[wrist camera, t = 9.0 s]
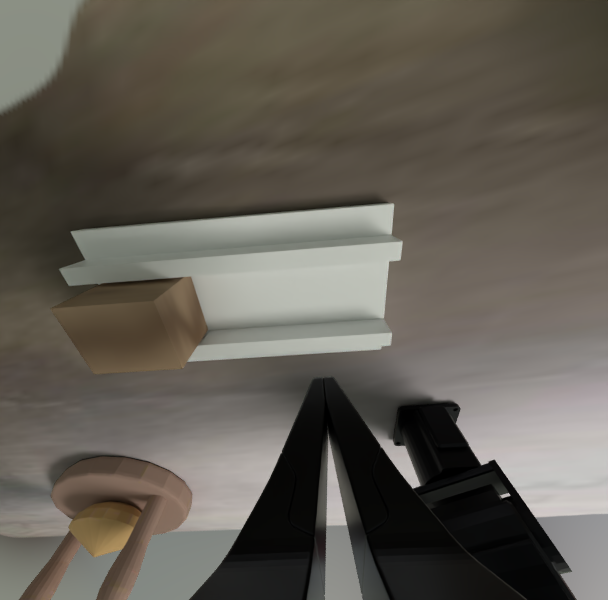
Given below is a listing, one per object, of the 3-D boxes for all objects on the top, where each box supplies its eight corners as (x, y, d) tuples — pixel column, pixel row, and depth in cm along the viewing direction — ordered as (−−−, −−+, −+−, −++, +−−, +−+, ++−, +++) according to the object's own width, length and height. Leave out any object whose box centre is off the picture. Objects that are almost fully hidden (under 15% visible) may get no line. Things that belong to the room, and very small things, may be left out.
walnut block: (208, 329, 19) (182, 368, 15) (138, 334, 19) (94, 374, 15) (189, 272, 17) (153, 300, 13) (110, 279, 17) (50, 308, 13)
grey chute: (377, 342, 21) (388, 365, 18) (147, 357, 22) (125, 381, 19) (388, 202, 16) (406, 206, 13) (83, 229, 16) (40, 237, 14)
